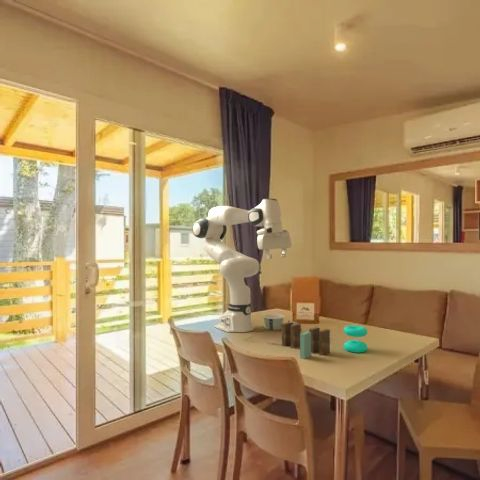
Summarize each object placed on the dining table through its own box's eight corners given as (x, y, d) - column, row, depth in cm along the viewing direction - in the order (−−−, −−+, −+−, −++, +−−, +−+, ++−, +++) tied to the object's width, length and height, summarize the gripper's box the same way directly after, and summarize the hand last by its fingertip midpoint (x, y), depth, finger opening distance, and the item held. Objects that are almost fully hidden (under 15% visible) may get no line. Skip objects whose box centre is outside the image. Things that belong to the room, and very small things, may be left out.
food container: (284, 330, 197) (284, 318, 197) (261, 330, 199) (261, 318, 199) (285, 325, 209) (284, 314, 209) (263, 325, 210) (263, 313, 210)
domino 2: (290, 347, 167) (290, 325, 166) (297, 345, 170) (297, 323, 170) (294, 348, 165) (294, 326, 165) (300, 346, 169) (300, 324, 169)
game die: (295, 343, 186) (306, 326, 187) (293, 341, 178) (305, 324, 180) (281, 333, 190) (292, 316, 191) (278, 330, 182) (290, 314, 183)
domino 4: (309, 352, 160) (309, 329, 160) (315, 349, 163) (315, 327, 163) (313, 353, 158) (313, 329, 158) (319, 350, 162) (319, 327, 162)
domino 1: (281, 345, 170) (281, 323, 170) (288, 343, 174) (288, 321, 174) (285, 346, 169) (285, 324, 169) (292, 343, 172) (291, 322, 172)
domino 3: (300, 357, 152) (300, 333, 152) (307, 355, 156) (307, 331, 156) (304, 359, 151) (304, 334, 151) (311, 356, 154) (311, 332, 154)
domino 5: (319, 354, 156) (319, 331, 156) (325, 352, 160) (325, 328, 160) (323, 355, 155) (323, 331, 155) (329, 353, 158) (329, 329, 158)
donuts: (362, 331, 155) (339, 327, 162) (362, 355, 155) (340, 350, 162) (370, 326, 163) (349, 323, 169) (371, 349, 163) (349, 345, 169)
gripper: (283, 230, 192) (286, 256, 191) (254, 231, 179) (257, 259, 178) (292, 228, 187) (295, 256, 186) (262, 229, 174) (265, 259, 174)
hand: (276, 257), depth 182 cm, fingers open, 8 cm apart
